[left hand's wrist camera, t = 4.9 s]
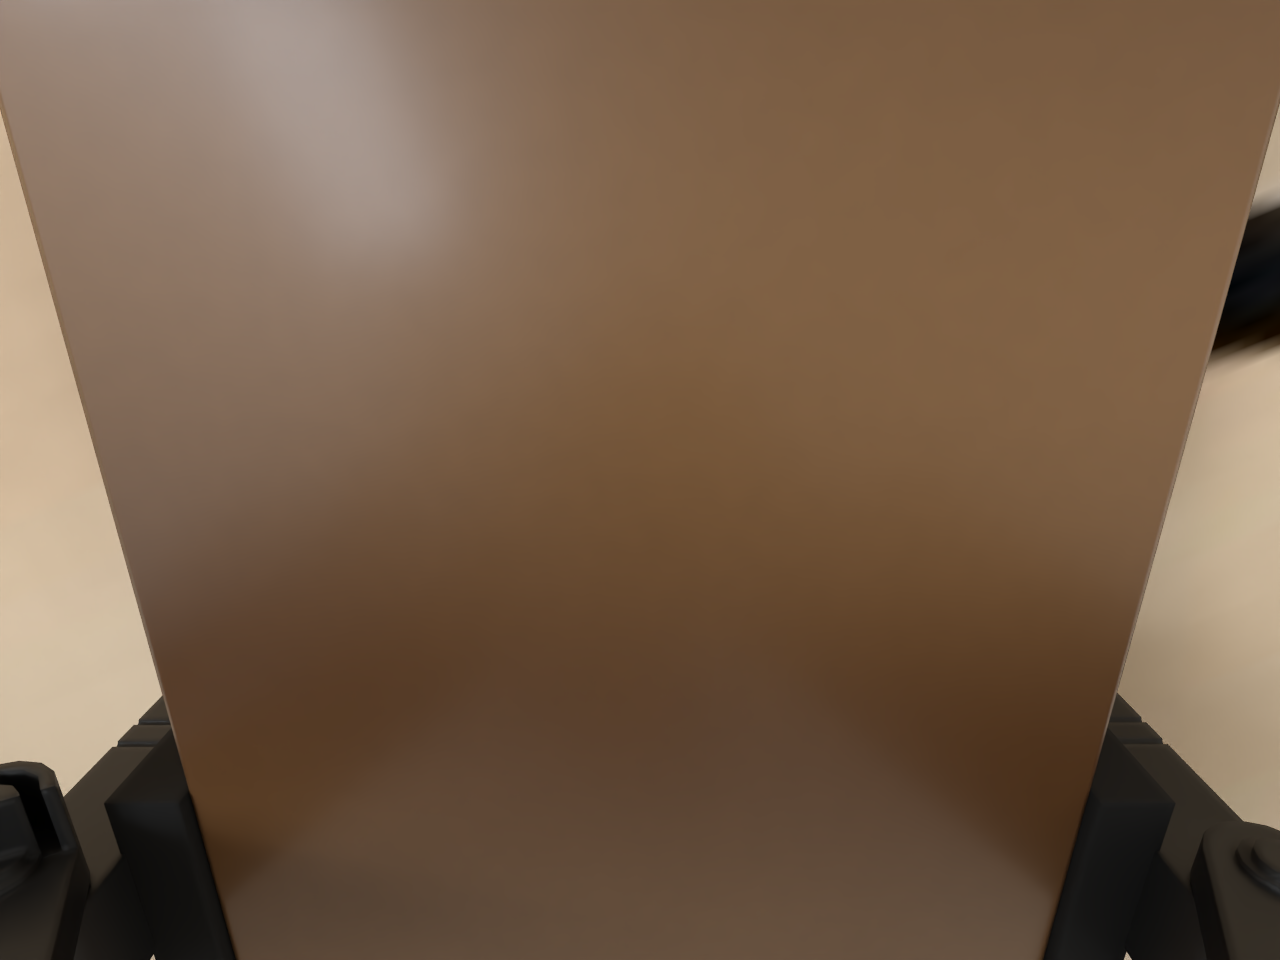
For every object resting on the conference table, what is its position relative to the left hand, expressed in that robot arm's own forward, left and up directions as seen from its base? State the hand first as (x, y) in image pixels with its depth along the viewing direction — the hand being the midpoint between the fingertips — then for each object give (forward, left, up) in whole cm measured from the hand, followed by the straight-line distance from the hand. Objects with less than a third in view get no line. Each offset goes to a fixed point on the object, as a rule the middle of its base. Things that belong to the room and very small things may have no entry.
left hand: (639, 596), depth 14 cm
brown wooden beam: (+20, +9, -1) cm, 22 cm away
